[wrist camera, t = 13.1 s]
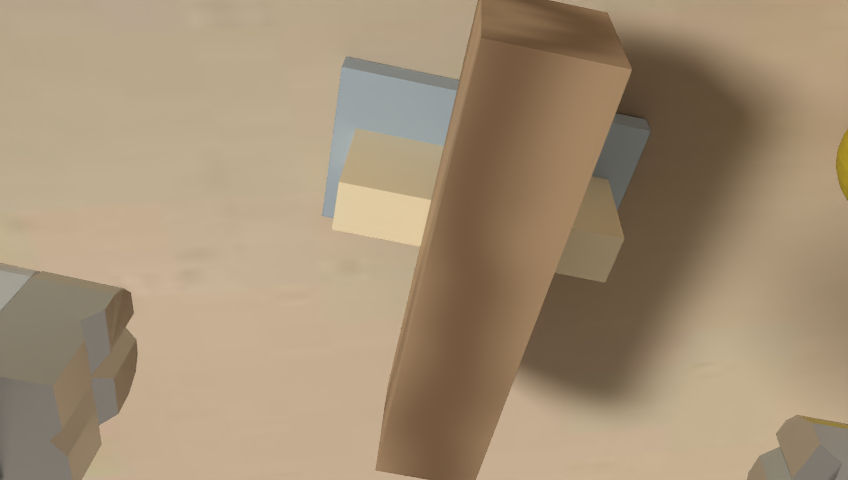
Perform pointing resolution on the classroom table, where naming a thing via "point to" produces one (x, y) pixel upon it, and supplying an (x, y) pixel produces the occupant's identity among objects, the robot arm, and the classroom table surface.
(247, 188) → the classroom table surface
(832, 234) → the classroom table surface
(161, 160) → the classroom table surface
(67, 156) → the classroom table surface
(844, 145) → the lemon
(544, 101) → the walnut bar
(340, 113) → the fulcrum
